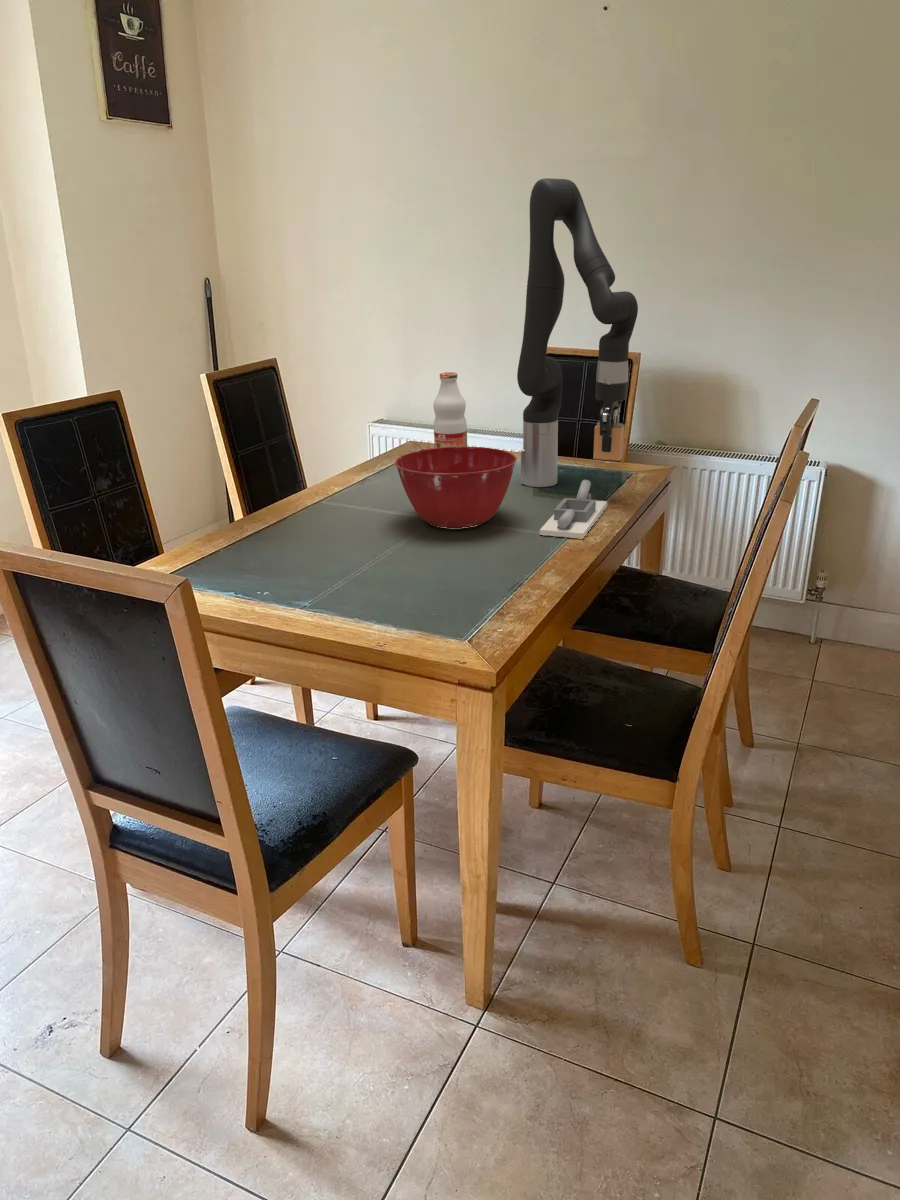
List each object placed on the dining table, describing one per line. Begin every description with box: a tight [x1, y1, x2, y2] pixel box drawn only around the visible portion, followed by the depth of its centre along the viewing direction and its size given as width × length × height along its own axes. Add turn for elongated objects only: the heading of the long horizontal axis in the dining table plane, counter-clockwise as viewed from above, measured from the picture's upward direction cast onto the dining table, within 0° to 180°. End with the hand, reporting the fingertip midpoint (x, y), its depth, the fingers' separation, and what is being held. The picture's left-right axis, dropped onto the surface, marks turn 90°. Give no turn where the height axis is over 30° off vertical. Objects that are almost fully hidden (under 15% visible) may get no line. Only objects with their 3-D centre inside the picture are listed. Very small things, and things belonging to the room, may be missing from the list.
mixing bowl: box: [394, 446, 518, 528], centre depth 214 cm, size 28×28×16 cm
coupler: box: [592, 421, 626, 462], centre depth 223 cm, size 6×4×9 cm, turn 69°
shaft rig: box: [539, 479, 608, 539], centre depth 212 cm, size 10×26×7 cm, turn 159°
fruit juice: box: [432, 371, 468, 448], centre depth 255 cm, size 9×9×28 cm
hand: (608, 449), depth 224 cm, fingers closed on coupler, 4 cm apart
